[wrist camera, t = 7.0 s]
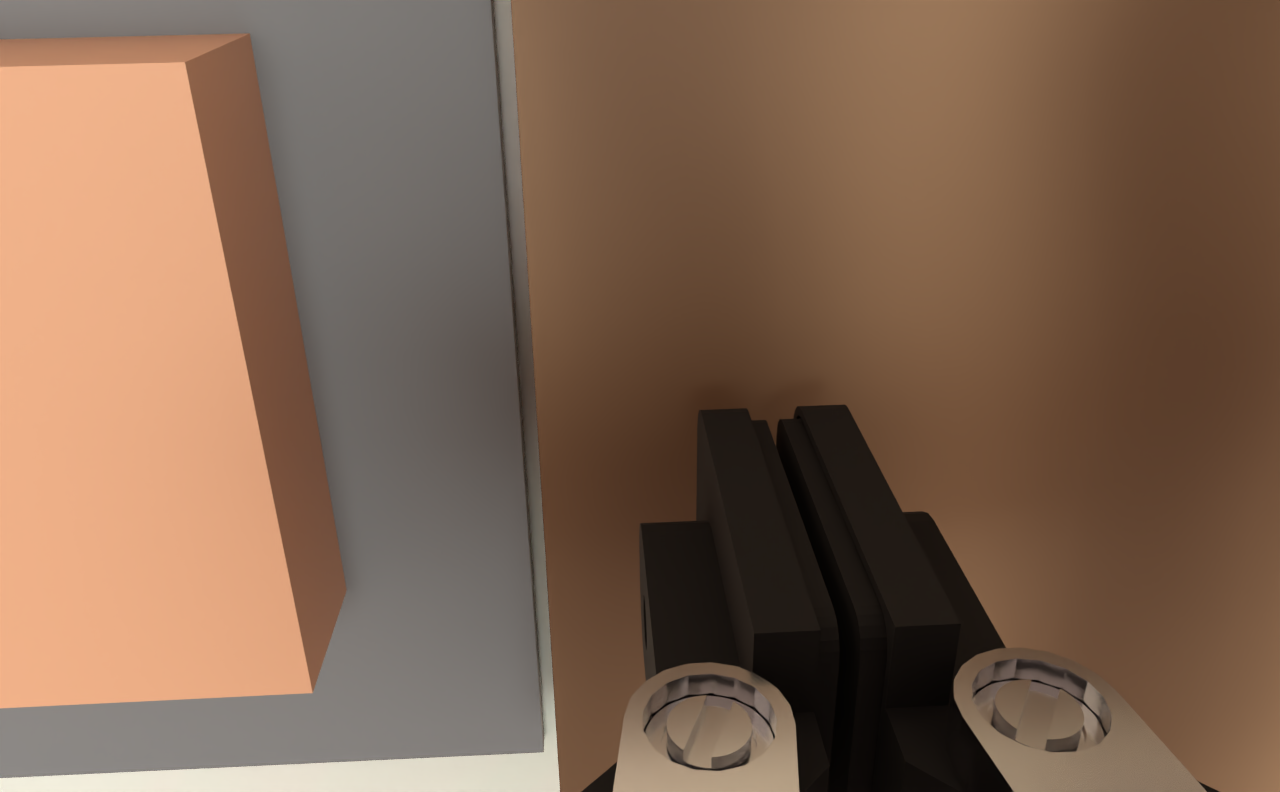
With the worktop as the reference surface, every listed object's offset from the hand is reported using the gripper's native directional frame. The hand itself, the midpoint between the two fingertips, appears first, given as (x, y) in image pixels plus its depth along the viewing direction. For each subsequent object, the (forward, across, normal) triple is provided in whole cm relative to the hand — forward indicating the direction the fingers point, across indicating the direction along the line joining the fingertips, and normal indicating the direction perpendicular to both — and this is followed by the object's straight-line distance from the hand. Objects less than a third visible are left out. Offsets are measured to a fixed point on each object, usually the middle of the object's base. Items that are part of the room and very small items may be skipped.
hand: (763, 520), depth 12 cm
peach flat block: (+2, +10, 0) cm, 10 cm away
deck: (+5, -5, 0) cm, 7 cm away
